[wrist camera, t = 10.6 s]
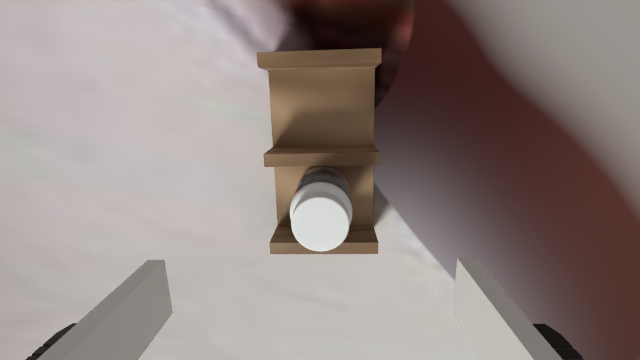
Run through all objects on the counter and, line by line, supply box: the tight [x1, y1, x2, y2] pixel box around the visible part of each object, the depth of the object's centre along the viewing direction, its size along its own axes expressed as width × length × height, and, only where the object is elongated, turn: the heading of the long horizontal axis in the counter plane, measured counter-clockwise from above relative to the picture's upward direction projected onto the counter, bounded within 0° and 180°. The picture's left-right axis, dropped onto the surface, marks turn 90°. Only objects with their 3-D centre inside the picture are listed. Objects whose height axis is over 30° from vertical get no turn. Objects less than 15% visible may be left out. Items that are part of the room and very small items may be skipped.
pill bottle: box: [290, 167, 352, 252], centre depth 27 cm, size 5×5×8 cm
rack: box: [257, 48, 381, 254], centre depth 28 cm, size 16×9×5 cm, turn 2°
